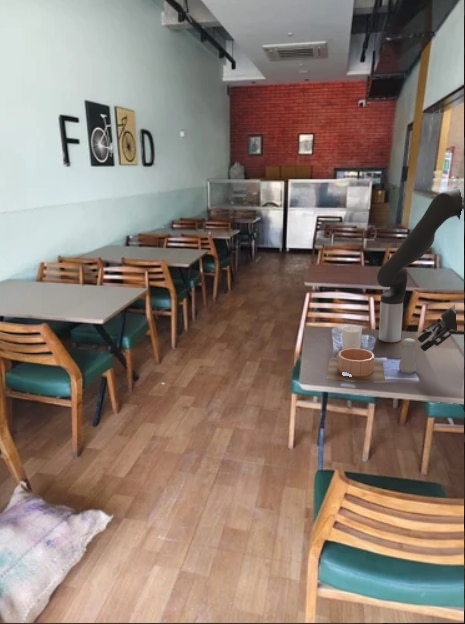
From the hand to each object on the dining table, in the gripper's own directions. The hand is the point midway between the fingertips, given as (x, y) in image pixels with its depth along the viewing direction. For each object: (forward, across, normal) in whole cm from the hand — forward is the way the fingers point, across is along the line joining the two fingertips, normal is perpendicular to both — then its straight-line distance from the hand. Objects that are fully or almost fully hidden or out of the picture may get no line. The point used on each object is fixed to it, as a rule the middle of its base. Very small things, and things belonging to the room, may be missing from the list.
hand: (420, 344), depth 152 cm
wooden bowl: (+23, +2, -8) cm, 24 cm away
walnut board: (+23, +2, -8) cm, 25 cm away
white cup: (+25, -18, -9) cm, 32 cm away
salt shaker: (+11, 0, +5) cm, 12 cm away
